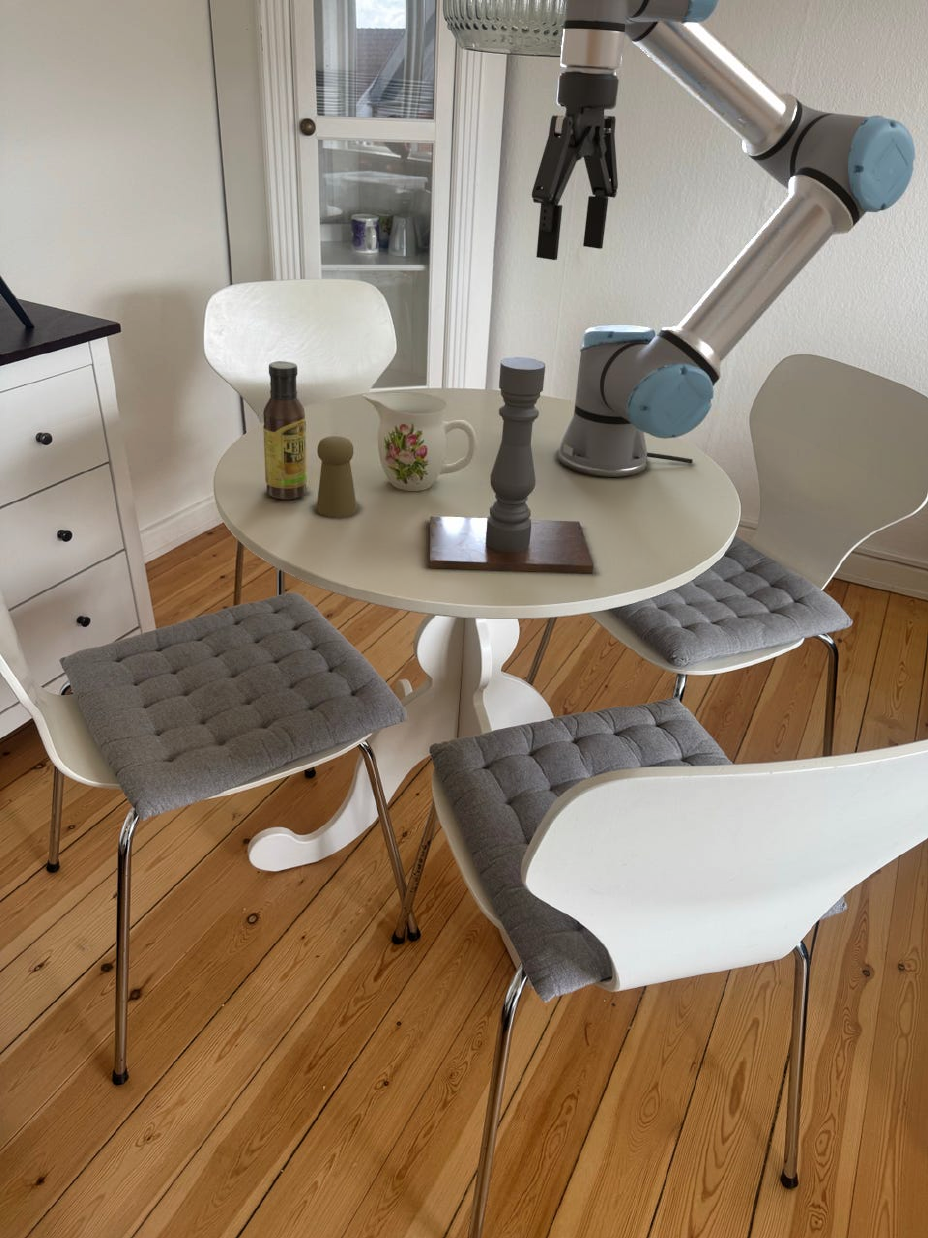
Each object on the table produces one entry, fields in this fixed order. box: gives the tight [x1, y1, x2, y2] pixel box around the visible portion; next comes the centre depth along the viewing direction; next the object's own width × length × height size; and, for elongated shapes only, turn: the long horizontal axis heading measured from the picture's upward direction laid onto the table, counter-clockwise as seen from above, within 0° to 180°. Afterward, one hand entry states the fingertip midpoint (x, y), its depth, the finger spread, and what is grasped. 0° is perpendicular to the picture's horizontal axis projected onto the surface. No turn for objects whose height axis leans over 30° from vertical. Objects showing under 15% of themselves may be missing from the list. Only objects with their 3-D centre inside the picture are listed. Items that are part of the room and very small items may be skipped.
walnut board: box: [429, 515, 594, 574], centre depth 128 cm, size 22×14×1 cm, turn 92°
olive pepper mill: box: [316, 435, 358, 518], centre depth 134 cm, size 6×6×11 cm
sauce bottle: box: [262, 360, 308, 500], centre depth 136 cm, size 6×6×20 cm
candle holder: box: [486, 356, 546, 553], centre depth 121 cm, size 6×6×25 cm
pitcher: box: [362, 391, 477, 492], centre depth 143 cm, size 11×18×14 cm, turn 83°
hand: (570, 252), depth 125 cm, fingers open, 13 cm apart
